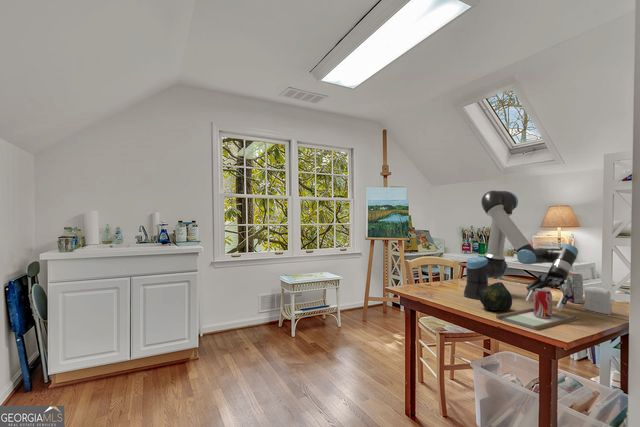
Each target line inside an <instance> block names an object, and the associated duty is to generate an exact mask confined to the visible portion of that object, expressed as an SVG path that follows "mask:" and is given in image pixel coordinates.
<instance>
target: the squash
mask: <svg viewBox="0 0 640 427" xmlns="http://www.w3.org/2000/svg"><path fill="white" fill-rule="evenodd" d="M479 300H480V303H481V305H483V308H484V309H486V310H488V311H493V312H494V311H509V310H510V309H511V307H513V306H512V305H513V297H512V294H511V292H510V291H509V290H508V289H507V287H506V286H505V285H504V283H503V282H502V281H501V282H500V281H499V282H494V283H492V284H490V285H489V284H488V286H487V287H485V288H484V289H482V291H481V293H480V299H479Z"/></svg>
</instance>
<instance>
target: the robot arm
mask: <svg viewBox="0 0 640 427" xmlns="http://www.w3.org/2000/svg"><path fill="white" fill-rule="evenodd" d="M518 204H519V198H518V197H517V195H516V194H515V193H513V192H512V191H508V190H507V191H506V190H489V191H487V192H486V193H484V194H483V195H482V197H481V207H482V209H483V210H484V212H485V214H486V215H487V216H489V217H491V223H490V229H489V230H490V231H489V237H488V243H487V250H486V251H487V252H485V253H484V254H483V256H476V257H474V256H473V257H469V258H468V259H466V264H465V267H466V270H465V271H466V273H465V274H466V284H465V288H464V290H463V296H464V297H466V298H468V299H475V300H480V293H481V291H482V289H484V288H485V287H487V286H489V279H493V278H494V279H496V278H500V277H503V276H505V274H507V272H508V268H509V267H508V264H507V261H506V257H505V256H504V250H505V243H506V239H507V240H508V242H509V244H511V246H512V247H513V248H514V250H515V251H516V253H517V254H516V260H517V261H518V262H519V263H520V264H523V265H530V266H531V265H535V264H547V263H548V264H550V268H549V270H548V271H547V275H546V276H542V275H541V274H539V275H538V277H537V278H536V279H535V280H533V281H532V282H531V283H530V284H528V285H527V286H526V287H525V288H526V290H527V294H526V299H525V302H526V303H527V305H530V304H531V303H532V301H533V299H534V291H535V289H536V288H541V289H545V288H547V287H549V288H558V289H560V292H561V293H562V295H561V296H560V298H559V300H558V303H557V305H556V308H557V310H558V311H559V312H561V311H562V310H563V307H564V305H567V304H568V303H567V302H569V301H568V299H574V294H573V290H572V282H571V280H570V279H568V280H566V278H567V276H568V274H569V272H570V271H572V270H571V269H572V267H573V266H574V263H575V261H576V259H577V258H578V257H577V256H578V254H579V250H578V248H577V247H576V246H574V245H573V244H568V243H564V244H562V245H561V246H560V247H559V248H543V247H541V248H539V247H538V248H535V247H533V246H532V244H531V243H530V242H529V240H528V239H527V238H526V237H525V235H524V234H523V233H522V231H521V230H520V229H519V228H518V226H517V225H516V223H515V222H514V221H513V219H512V218H511V217H510V216H512V215H513V210H515V209H516V208H517V206H518ZM564 283H566V285H567V288H568V293H569V295H567V294H566V292H565V291H564V289H563V284H564ZM563 295H564V296H563Z"/></svg>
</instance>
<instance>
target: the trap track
mask: <svg viewBox="0 0 640 427" xmlns="http://www.w3.org/2000/svg"><path fill="white" fill-rule="evenodd" d="M495 316H496V317H495V318H496V319H497V320H500V321H504V322H508V323H510V324H513V325H517V326H521V327H524V328H528V329H531V330H535V331H540V330H543V329H547V328H549V327H550V326H551V327H554V326H557V325H561V324H565V323H568V322H573V321H576V320H577V316H576V315H572V316H565V315H564V316H563V315H561V314H560V315H559V314H555V313H552V317H551V318H550V319H543V318H538V317H536V316H535V315H534V306H533V307H530V308H525V309H521V310H515V311H511V312H505V313H501V314H496V315H495Z"/></svg>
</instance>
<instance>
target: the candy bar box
mask: <svg viewBox="0 0 640 427" xmlns="http://www.w3.org/2000/svg"><path fill="white" fill-rule="evenodd" d="M568 279H570V280H571V282H572V290H573V294H574V299H568V301H567V302H570V303H573V304H576V305H577V304H582V305H583V304H584V290H583V288H584V286H583V284H584V283H583V282H584V281H583V274H582V273H580V272H575V271H573V270H570V272H569V274H568V276H567V278H566V280H568ZM562 287H563V289H564V291H565V292H566V294H567V295H569V293H568V288H567V285H566V283H564V284H563V285H562ZM562 296H564V295H563V294H562Z"/></svg>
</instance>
